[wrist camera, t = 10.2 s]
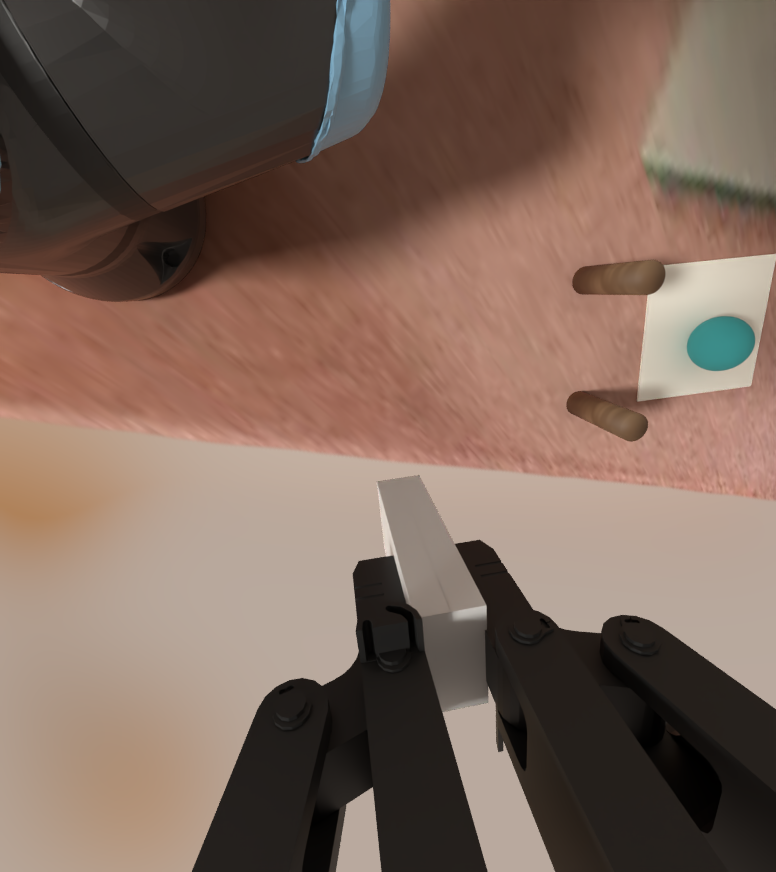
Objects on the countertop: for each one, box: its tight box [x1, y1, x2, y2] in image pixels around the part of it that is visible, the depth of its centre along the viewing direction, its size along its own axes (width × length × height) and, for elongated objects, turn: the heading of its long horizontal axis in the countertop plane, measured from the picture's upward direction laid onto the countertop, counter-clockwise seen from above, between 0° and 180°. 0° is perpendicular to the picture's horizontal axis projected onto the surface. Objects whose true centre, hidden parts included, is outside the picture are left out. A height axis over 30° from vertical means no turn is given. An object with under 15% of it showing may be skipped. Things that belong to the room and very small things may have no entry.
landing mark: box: [637, 254, 776, 401], centre depth 45 cm, size 14×14×1 cm
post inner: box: [573, 260, 666, 295], centre depth 38 cm, size 3×3×9 cm
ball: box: [687, 316, 755, 371], centre depth 43 cm, size 6×6×6 cm
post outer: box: [567, 391, 648, 441], centre depth 42 cm, size 3×3×9 cm
